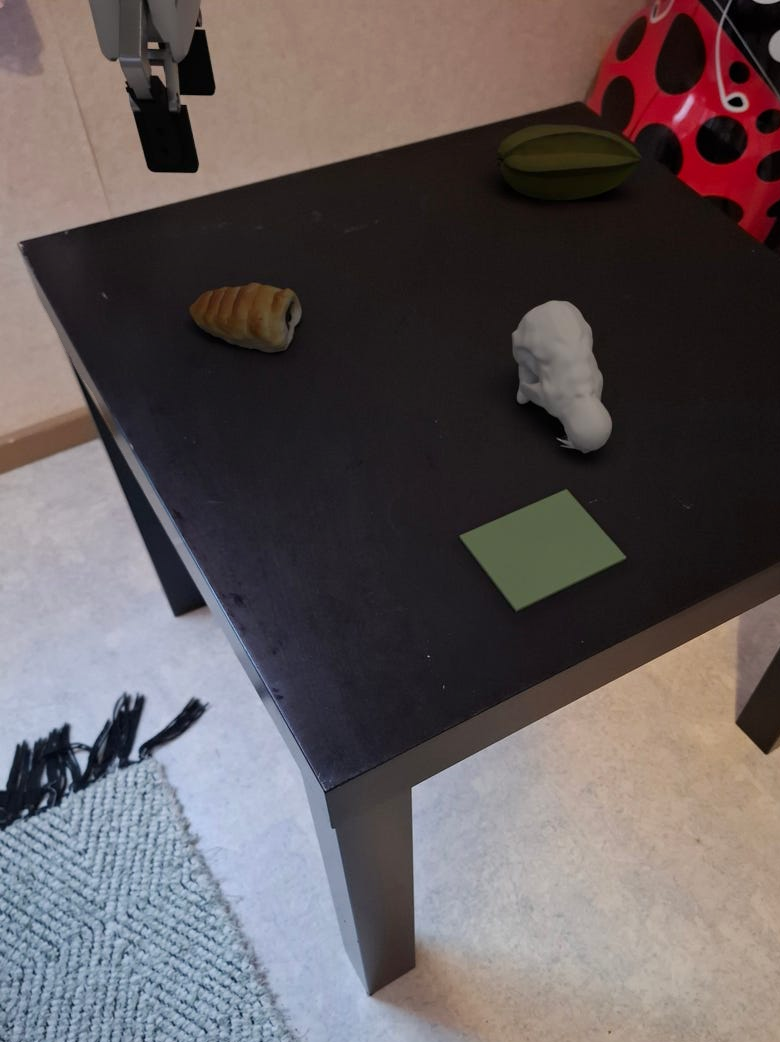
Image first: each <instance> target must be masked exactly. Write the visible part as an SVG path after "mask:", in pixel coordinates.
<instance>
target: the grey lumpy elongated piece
mask: <svg viewBox="0 0 780 1042" xmlns="http://www.w3.org/2000/svg"><path fill="white" fill-rule="evenodd" d="M511 341H512V343H511V344H512V356H513V359H514V361H515V362H516V363H517V364H518V379H519V384H518V385H519V386H518V390H517V393H516V401H517V403H518V404H520V405H525V404H527V403H529V402H532V403H533V404H534V405H537V406H539V407H541V408H542V409H544V410H546V413H548V414H549V415H551V416H552V417H555V418H557V419H558V420H559V422H560V423H561V424H562V425H563V427H564V432H565V435H566V437H567V440H566V439H561V438H559V437H556V440H558V441H560V442H562V444H564V445H560V447H563V448H568V449H575V450H578V451H580V452H581V453H583V454H587V453H590V452H591V451H597V450H599V449H600V448H602V447H603V446H604V445H605V444H607V441H608V440H609V438H610V436H611V433H612V428H613V421H612V417H611V415H610V413H609V411H608V409H607V408H606V407H605V405H604V403H602V402H601V401H602V392H603V387H604V379H603V374H602V372H601V370H600V369H599V366H598V363H597V360H596V358H595V355H594V353H593V346H594V345H593V344H594V339H593V330H592V327H591V326H590V324H589V323H588V322H587V321H586V320H585V318H584V316H583V314H582V313H581V311H580V310H579V309H578V308H577V307H576V306H575V305H574V304H573V303H571V302H569V301H566V300H549V301H546V302H545V303H543V304H540V305H538V306H535V307H534V308H532V309H530V310H529V311H527V312H526V313H525V314H524V316H523V317H522V319H521V320H520V322H519V323H518V325H517V328H516V330H514V331H513V332H512V333H511Z"/></svg>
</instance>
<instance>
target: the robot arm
mask: <svg viewBox="0 0 780 1042" xmlns="http://www.w3.org/2000/svg"><path fill="white" fill-rule="evenodd" d="M201 3H202V0H88V4H89V8H90V12H91V16H92V21H93V26H94V29H95V33H96V37H97V41H98V45H99V49H100V52H101V54H102V55H103V56H104V58H105V59H106V60H107V61H109V62H113V63H114V62H117V61H118V60H119V66H120V69H121V71H122V73H123V75H124V77H125V81H124V84H125V85H126V86H125V91H126V93H127V94H128V101H129V106H130V109H131V111H132V116H133V117H134V122H135V127H136V129H137V133H138V138H139V141H140V145H141V149H142V154H143V157H144V160H145V165H146V168H147V169H148V171H150V172H151V173H155V174H157V173H159V174H161V173H162V174H196V173H198V172H199V168H200V161H199V156H198V152H197V151H198V150H197V147H196V142H195V137H194V133H193V129H192V128H193V127H192V123H191V119H190V115H189V110H188V105H187V104H182V103H181V96H195V97H196V96H199V97H200V96H201V97H202V96H203V97H212V96H214V95H215V93H216V89H217V86H216V81H215V76H214V70H213V65H212V59H211V54H210V49H209V43H208V38H207V37H208V36H207V33H206V29H204V28H203V29H202V27H203V16H202V11H201V10H202V9H201ZM199 28H200V29H199ZM149 43H157V45H158V46H157V47H158V48H149ZM152 67H162V69H163V73H164V79H165V84H164V83H163V80H162V79H161V78H160V76H159V75H155V74H153V73H152V72H153V71H152V70H153V69H152Z"/></svg>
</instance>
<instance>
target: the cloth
mask: <svg viewBox="0 0 780 1042" xmlns="http://www.w3.org/2000/svg"><path fill="white" fill-rule="evenodd" d="M458 537H459V540H460V542H462V543H463V545H464V546H465V548H466V549H467V550H468V551H469V553H470V554H471V555H472V557H473V558H474V559H475V560H476V562H477V563H478V564H479V566H480V567H481V569H482V570H483V571H484V572H485V574H486V575H487V576H488V577H489V579H490V580H491V581H492V583H493V584H494V586H495V588H497V590H498V591H499V592H500V593H501V595H502V596H503V597H504V599H505V600H506V601H507V603H508V604H509V605H510V606H511V608H512V609H513V610H514V612H515V613H517V612H519V611H521V610H523V609H526V608H528V607H530V606H532V605H535V604H536V603H538V602H540V601H542V600H544V599H547V598H549V597H550V596H553V595H555V594H557V593H559V592H561V591H563V590H566V589H567V588H569V587H572V586H573V585H576V584H578V583H580V582H582V581H584V580H586V579H588V578H590V577H592V576H595V575H597V574H599V573H601V572H603V571H605V570H607V569H609V568H612V567H614V566H615V565H617V564H620V563H622V562H624V561H626V560H627V556H626V555H625V554H624V553H623V551H621V549H620V548H619V546H618V545H617V544H616V543H615V542H614V541H613V540H612V539H611V538H610V537H609V536H608V535H607V534H606V532H605V531H604V530H603V529H602V527H601V526H600V525H599V524H598V523H597V522H596V521H595V520H594V518H593V517H592V516H591V515H590V514H589V512H588V511H586V509H585V508H584V506H582V505H581V504H580V502H579V501H578V500H577V499H576V498H575V497H574V496H573V494H572V493H571V492H570V491H569V490H568V489H567V488H565V489H563V490H562V491H559V492H557V493H554V494H552V495H549V496H547V497H544V498H543V499H540V500H538V501H536V502H534V503H531V504H528V505H527V506H524V507H521V508H520V509H518V510H515V511H513V512H510V513H508V514H506V515H504V516H502V517H499V518H497V519H494V520H493V521H490V522H487V523H485V524H482V525H480V526H478V527H476V528H474V529H471V530H470V531H467V532H465V533H462V534H460V535H459V536H458Z"/></svg>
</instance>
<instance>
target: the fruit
mask: <svg viewBox="0 0 780 1042" xmlns="http://www.w3.org/2000/svg"><path fill="white" fill-rule="evenodd" d="M496 154H497V158H496V160H497V163H496V165H497V166H498V167H499V171H500V174H501V176H502V178H503V179H504V181H505V182H506V184H507V185H508V186H510V187H511V188H512V189H513V190H515V191H516V192H517V193H518V194H520V195H522V196H525V197H528V198H532V199H538V200H542V201H574V200H580V199H581V200H582V199H585V198H586V199H587V198H591V197H595V196H599V195H602V194H603V193H606V192H609V191H611V190H613V189H615V188H617V187H620V185H622V184H623V183H624V182H625V181H626V180H628V179H629V178H630V177H631V176H632V175H633V174H634V173H635V172H636V170H637V169H638V168H639V167H640V166H641V164H642V162H643V157H642V155H641V154H640V152H639V151H638V149H637V148H636V146H634V145H633V144H631V143H630V142H628V141H627V140H625V139H624V138H622V137H621V136H619V135H618V134H616V133H613V132H611V131H609V130H607V129H606V130H605V129H600V128H595V127H590V126H585V125H579V124H551V123H550V124H549V123H543V124H540V123H539V124H534V125H529V126H527V127H525V128H524V127H523V128H522V129H518V130H517V131H516V132H513V133H511V134H510V135H508V136H507V137H505V139H503V140H502V141H501V142H500V144H499V146H498V149H497V151H496Z"/></svg>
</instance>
